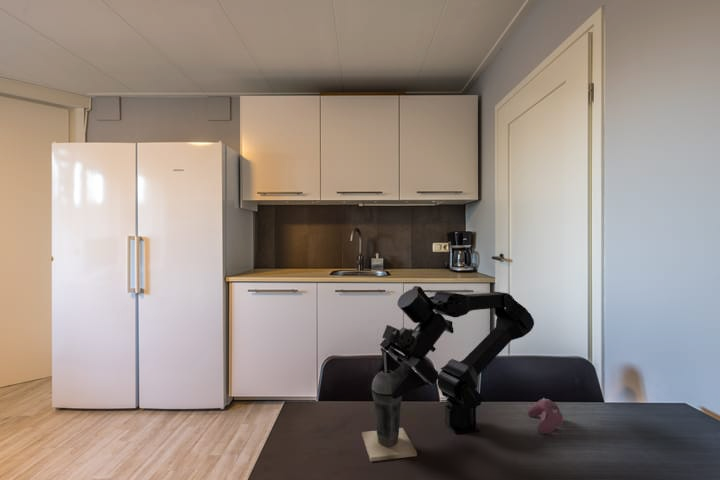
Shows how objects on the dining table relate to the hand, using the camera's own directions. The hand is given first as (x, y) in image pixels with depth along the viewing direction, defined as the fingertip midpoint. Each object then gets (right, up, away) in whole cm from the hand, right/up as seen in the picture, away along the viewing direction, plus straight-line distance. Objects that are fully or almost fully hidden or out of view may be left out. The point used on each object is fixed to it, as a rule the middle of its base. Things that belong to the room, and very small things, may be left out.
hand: (383, 389), depth 76 cm
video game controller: (+41, -13, +8) cm, 43 cm away
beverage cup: (+1, -12, 0) cm, 12 cm away
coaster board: (+1, -12, 0) cm, 12 cm away
